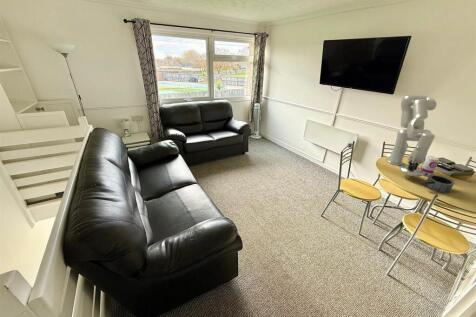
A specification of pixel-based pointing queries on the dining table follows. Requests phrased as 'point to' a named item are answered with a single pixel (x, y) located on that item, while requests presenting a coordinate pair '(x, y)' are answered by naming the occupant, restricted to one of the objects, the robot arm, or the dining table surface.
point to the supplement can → (429, 165)
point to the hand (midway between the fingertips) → (411, 169)
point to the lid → (411, 172)
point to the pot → (438, 183)
